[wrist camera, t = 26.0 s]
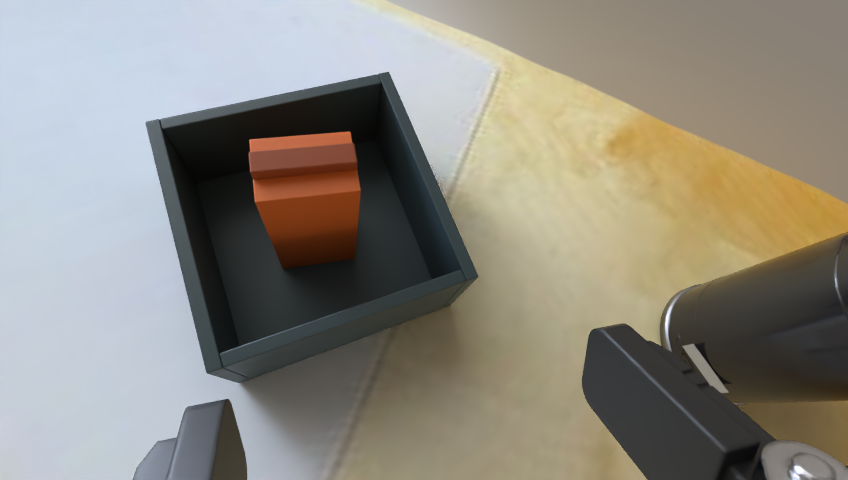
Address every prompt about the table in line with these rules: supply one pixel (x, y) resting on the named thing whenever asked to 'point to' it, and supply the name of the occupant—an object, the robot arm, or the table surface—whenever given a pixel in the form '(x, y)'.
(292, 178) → the block
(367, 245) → the bin
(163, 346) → the table surface
